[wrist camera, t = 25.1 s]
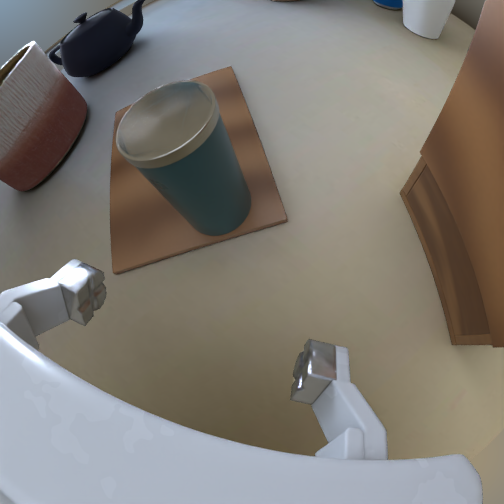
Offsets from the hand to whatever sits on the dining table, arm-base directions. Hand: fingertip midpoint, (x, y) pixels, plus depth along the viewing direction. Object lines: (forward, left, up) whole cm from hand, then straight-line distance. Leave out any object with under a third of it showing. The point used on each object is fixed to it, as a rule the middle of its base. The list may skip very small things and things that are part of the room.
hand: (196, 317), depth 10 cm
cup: (+35, -39, -11) cm, 54 cm away
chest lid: (0, -16, +3) cm, 16 cm away
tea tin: (+10, 0, -11) cm, 15 cm away
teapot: (+51, +15, -11) cm, 54 cm away
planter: (+32, +25, -11) cm, 42 cm away
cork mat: (+18, +3, -11) cm, 21 cm away
